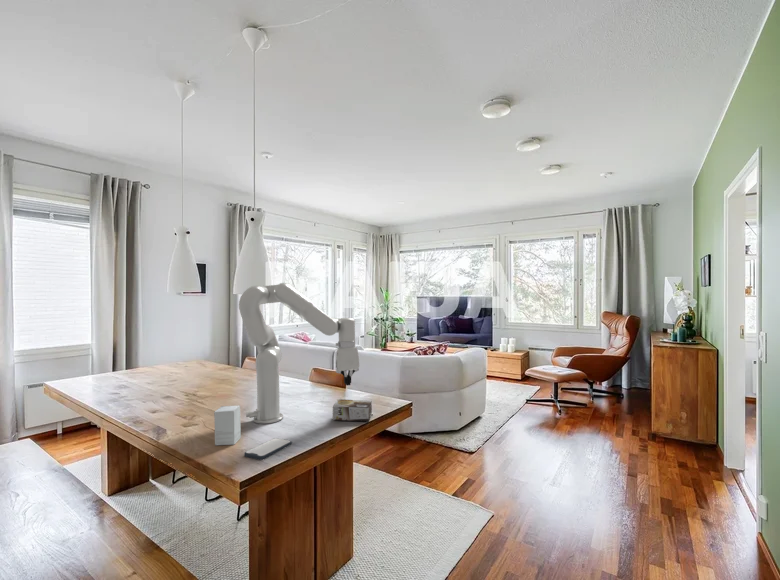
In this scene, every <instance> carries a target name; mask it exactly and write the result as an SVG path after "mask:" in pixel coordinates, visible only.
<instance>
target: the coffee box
mask: <svg viewBox="0 0 780 580" xmlns="http://www.w3.org/2000/svg"><path fill="white" fill-rule="evenodd" d="M372 404H373V403H372V400H366V399H365V400H364V399H363V400H361V399H341V398H340V399H336V401H335V402H334V403H333V405H332V420H333V421H348V422H349V421H351V422H365V421H368V423H369V422H370V419H371V417H372V415H371V414H372V413H373V412H372V411H373V406H372Z"/></svg>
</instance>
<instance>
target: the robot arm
mask: <svg viewBox="0 0 780 580" xmlns="http://www.w3.org/2000/svg"><path fill="white" fill-rule="evenodd" d="M275 303H277V304H278V303H281V304H282V305H284V306H286V307H287V308H288V309H289V310H291V311H292V312H293V313H295V314H296V315H298V316H299V317H300V318H302V319H303V321H306V322H308V324H310V325H311V326H312V327H313V328H315V329H316V330H318V331H319V332H321V333H322V334H324V335H325V336H334V335H335V334H338V342H336V343H335V346H336V347H337V350H336V356H335V373H337V374H341V375H342V376H343V383H344V385H345V386H351V384H352V376H353V375H354V374H355V373H356V372H359V371H360V359H359V358H360V357H359V351H358V347H356V323H355V322H356V320H355V318H352V317H342V318H337V317H330V316H329V315H328V314H326V313H325V312H324V311H322V310H321V309H319V308H318V306H316V305H315V303H314V302H313V301H312V300H311V299H309V298H308V297H307V296H306V295H304V294H303V293H301V292H299V291H298V290H297V289H295V288H294V286H293V285H291V284H289V283H287V282H281V283H279V284H273V285H271V284H270V285H252V286H250V287H247V288H246V289H245V290H244V291H243V293H242V294H241V295H240V299H239V301H238V309H239V314H240V316H241V319H242V321H243V322H242V323H243V324H244V325H243V326H244V328H245V330H246V333H247V336H248V340H249V342H250V343H251V345H253V347H254V346H255V347H256V348H257V350H258V354H257V355H256V358H255V370H256V371H255V372H256V402H257V403H256V409H255V410H253V411H252V412H250V411H249V412H246V413H245V416H246V417H245V418H250V419H253V423H256V424H260V425H263V424H265V425H266V424H273V423H277V422H280V421H281V420H283V418H284V414H283V413H281V412H280V411H281V409H280V370H279V368H280V367H279V363H280V361H281V360H282V358H283V356H282V355H283V353H282V349H281V348H280V347H281V346H280V345H279V342H278V339H277V336H276V334H275V331H274V329H273V328H272V327H271V326H270V325H268V324H266V322H265V318H264V316H263V313H262V311H261V309H260V305H266V304H267V305H268V304H275Z"/></svg>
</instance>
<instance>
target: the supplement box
mask: <svg viewBox="0 0 780 580" xmlns="http://www.w3.org/2000/svg"><path fill="white" fill-rule="evenodd" d="M213 414H214V417H213V418H214V446H228V445H229V446H231V445H233V446H234V445H236V443H238V441H239V440H240V439H241V438H242V434H241V433H242V432H241V430H242V429H241V427H242V426H241V405H221V406H220V407H218V409H216V410H215V411H214V412H213Z"/></svg>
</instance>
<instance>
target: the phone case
mask: <svg viewBox="0 0 780 580" xmlns="http://www.w3.org/2000/svg"><path fill="white" fill-rule="evenodd" d="M292 443H293V441H292V440H291V439H289V440H288V439H283V438H279V437H274V438H271V439H270V440H268V441H266V442H263V443H261V444H258V445H257V446H254V447H253V448H251V449H249V450H246V451H245V452H244V455H243V456H244V457H245V458H249V459H253V460H259V461H262V460H263V459H264V460H266V459H267V458H269V457H271V456H273V455H274V454H276V453H279V452H280V451H282V450H284V449H286V448H287V447H290V446H291V445H292ZM285 447H286V448H285ZM264 460H263V461H264Z"/></svg>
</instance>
